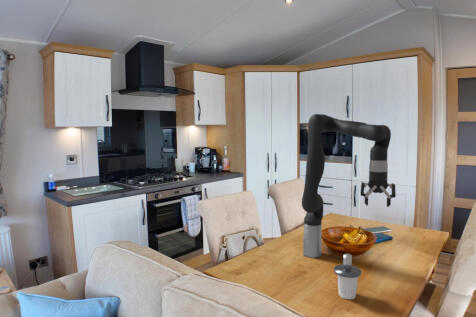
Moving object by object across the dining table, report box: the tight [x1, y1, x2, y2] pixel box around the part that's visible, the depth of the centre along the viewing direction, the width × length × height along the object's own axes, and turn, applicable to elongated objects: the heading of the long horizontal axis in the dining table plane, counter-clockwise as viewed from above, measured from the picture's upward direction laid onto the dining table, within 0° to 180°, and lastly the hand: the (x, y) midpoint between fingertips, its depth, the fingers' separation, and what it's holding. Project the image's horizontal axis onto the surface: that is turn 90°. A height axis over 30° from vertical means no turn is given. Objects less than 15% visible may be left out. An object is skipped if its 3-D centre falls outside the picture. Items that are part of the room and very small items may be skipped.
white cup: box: [337, 275, 359, 300], centre depth 130 cm, size 8×8×10 cm
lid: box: [333, 253, 362, 278], centre depth 130 cm, size 10×10×7 cm
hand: (377, 205), depth 143 cm, fingers open, 8 cm apart
